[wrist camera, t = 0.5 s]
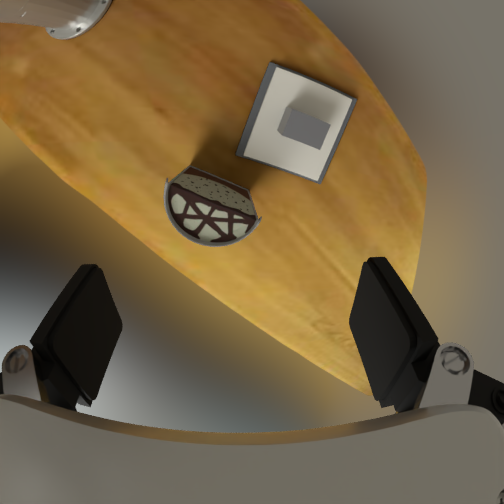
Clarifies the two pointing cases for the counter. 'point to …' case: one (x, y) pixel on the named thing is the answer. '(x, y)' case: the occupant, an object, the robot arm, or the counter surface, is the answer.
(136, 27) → the counter surface
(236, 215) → the food container
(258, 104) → the mat
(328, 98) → the lid
